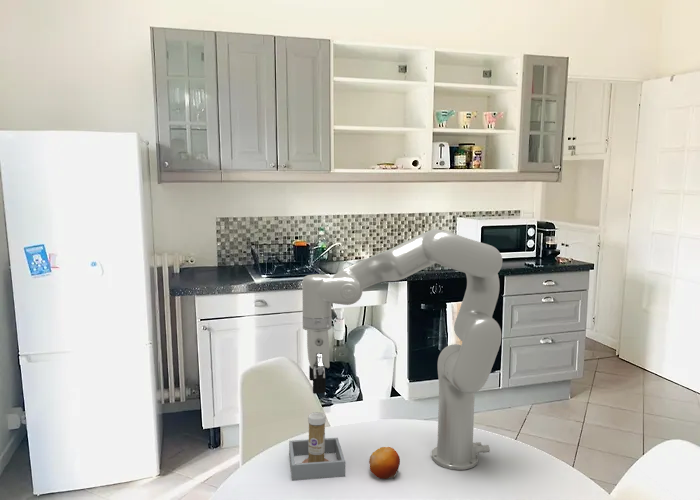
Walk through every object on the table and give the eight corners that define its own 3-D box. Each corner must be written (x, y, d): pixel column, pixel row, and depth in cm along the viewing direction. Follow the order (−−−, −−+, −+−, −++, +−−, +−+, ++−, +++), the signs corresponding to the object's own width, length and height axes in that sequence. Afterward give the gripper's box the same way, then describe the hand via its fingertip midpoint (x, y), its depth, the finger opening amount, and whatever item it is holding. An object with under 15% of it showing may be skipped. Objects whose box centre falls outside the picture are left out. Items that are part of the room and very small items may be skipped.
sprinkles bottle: (307, 467, 137) (307, 418, 136) (309, 459, 142) (309, 411, 140) (324, 468, 137) (324, 418, 136) (325, 459, 142) (326, 411, 140)
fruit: (405, 479, 130) (389, 451, 130) (378, 491, 132) (362, 464, 132) (408, 463, 138) (393, 437, 138) (382, 475, 140) (367, 449, 140)
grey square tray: (337, 451, 147) (337, 437, 147) (345, 476, 134) (345, 461, 133) (289, 454, 145) (289, 440, 144) (291, 480, 132) (291, 465, 131)
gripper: (336, 330, 128) (335, 397, 129) (327, 314, 145) (327, 374, 146) (305, 331, 126) (305, 399, 128) (300, 315, 143) (300, 376, 145)
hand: (317, 386), depth 137 cm, fingers open, 9 cm apart
